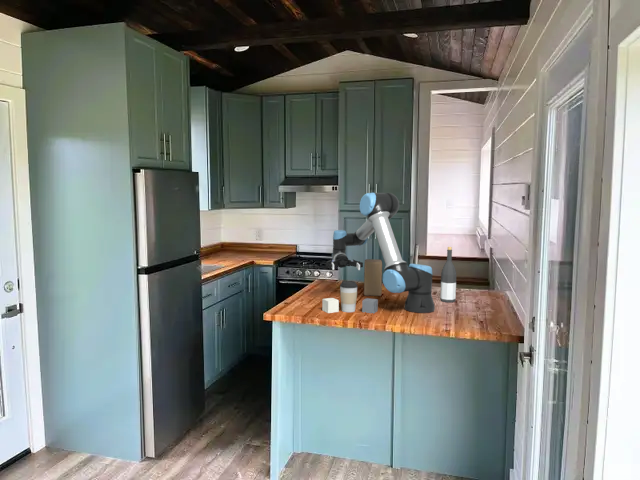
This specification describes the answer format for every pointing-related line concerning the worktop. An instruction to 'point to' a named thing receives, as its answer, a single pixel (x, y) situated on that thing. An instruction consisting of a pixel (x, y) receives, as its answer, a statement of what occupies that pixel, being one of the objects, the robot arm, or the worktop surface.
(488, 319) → the worktop surface
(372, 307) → the charcoal block
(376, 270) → the block
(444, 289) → the wine bottle
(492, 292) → the worktop surface
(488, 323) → the worktop surface
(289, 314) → the worktop surface
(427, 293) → the robot arm
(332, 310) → the cream block
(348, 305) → the coffee cup
